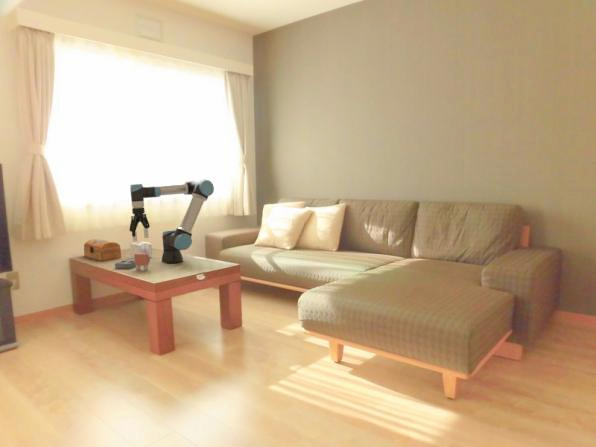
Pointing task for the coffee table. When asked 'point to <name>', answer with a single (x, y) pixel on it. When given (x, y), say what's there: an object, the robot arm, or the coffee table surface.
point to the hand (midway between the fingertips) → (140, 239)
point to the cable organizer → (141, 248)
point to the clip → (141, 261)
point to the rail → (127, 263)
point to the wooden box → (102, 250)
